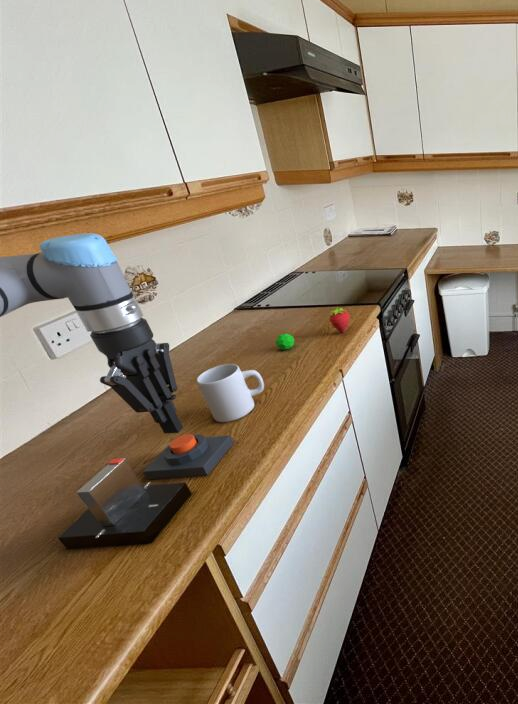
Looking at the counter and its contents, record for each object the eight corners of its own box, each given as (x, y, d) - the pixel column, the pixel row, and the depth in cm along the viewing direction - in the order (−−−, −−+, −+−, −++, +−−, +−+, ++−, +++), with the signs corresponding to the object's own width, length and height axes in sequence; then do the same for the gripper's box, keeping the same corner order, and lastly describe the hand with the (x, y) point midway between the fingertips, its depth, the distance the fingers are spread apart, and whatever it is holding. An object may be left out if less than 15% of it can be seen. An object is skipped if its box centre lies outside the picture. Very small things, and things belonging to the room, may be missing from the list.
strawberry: (354, 326, 138) (347, 299, 134) (352, 336, 131) (344, 307, 127) (335, 329, 137) (328, 302, 132) (332, 339, 130) (324, 311, 126)
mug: (213, 427, 94) (194, 388, 89) (215, 409, 100) (197, 371, 95) (271, 407, 99) (256, 369, 94) (269, 391, 106) (254, 355, 101)
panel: (63, 553, 67) (52, 540, 65) (120, 496, 77) (112, 484, 75) (148, 546, 67) (139, 534, 65) (194, 491, 77) (187, 479, 75)
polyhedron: (299, 346, 127) (294, 333, 125) (284, 353, 123) (279, 340, 121) (290, 343, 130) (286, 329, 128) (275, 350, 126) (270, 336, 124)
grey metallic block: (113, 525, 67) (87, 490, 64) (101, 526, 67) (75, 491, 64) (146, 491, 74) (124, 457, 70) (135, 492, 74) (113, 458, 70)
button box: (146, 479, 80) (137, 464, 78) (178, 447, 88) (171, 432, 87) (207, 475, 80) (199, 460, 79) (234, 443, 88) (227, 428, 87)
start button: (168, 455, 81) (164, 448, 80) (182, 441, 85) (178, 434, 84) (188, 453, 81) (184, 447, 80) (201, 439, 85) (198, 433, 84)
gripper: (106, 341, 65) (169, 453, 75) (166, 308, 76) (213, 408, 87) (59, 344, 65) (128, 455, 75) (126, 310, 76) (178, 411, 87)
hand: (174, 430), depth 81 cm, fingers closed
